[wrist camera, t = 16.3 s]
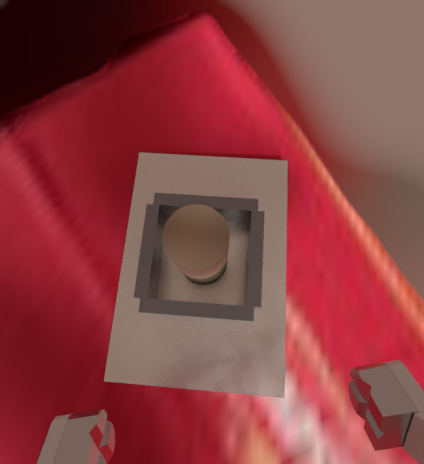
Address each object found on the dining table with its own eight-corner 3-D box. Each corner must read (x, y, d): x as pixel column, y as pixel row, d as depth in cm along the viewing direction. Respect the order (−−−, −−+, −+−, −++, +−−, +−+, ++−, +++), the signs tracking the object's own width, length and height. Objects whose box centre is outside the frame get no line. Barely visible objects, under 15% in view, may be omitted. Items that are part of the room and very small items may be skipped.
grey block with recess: (280, 393, 25) (294, 411, 20) (110, 377, 26) (84, 391, 21) (284, 168, 30) (296, 139, 26) (143, 160, 31) (128, 131, 26)
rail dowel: (225, 286, 26) (227, 271, 18) (178, 283, 26) (158, 267, 18) (228, 240, 27) (231, 206, 19) (182, 237, 27) (166, 202, 19)
